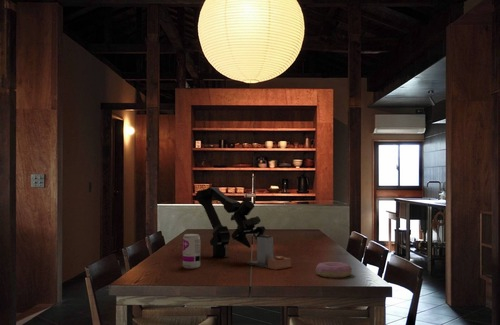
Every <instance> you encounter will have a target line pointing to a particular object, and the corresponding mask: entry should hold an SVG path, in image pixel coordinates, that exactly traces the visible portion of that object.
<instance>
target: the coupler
mask: <svg viewBox="0 0 500 325" xmlns="http://www.w3.org/2000/svg"><path fill="white" fill-rule="evenodd" d="M291 261H292V258H290V257H285V256H282V255H275V256H274V258H273V259H268V263H267V264H263V263H258V262H257V259H256V260H251V261H247V265H248V264H249V266H253V265H255V267H260V268H264V267H265V269H269V268H270V269H271V270H275V271H276V270H282V269H287V268H291V267H292V262H291Z"/></svg>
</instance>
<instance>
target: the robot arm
mask: <svg viewBox="0 0 500 325" xmlns="http://www.w3.org/2000/svg"><path fill="white" fill-rule="evenodd" d="M213 198H214V199H215V200H216V201H217V202H219V203H220V204H221V205H222V206H223V209H224V210H225V211H226V213H228V214H231V217H230V221H235V224H236V225H237V227H236V228H235V229H234V231H233V232H232V233H231V234H230V231H229V228H228V226H227V225H226V226H225V225H222V223H221V220H220V218H219V216H218V214H217V211H216V209H215V207H214V205H213ZM195 200H197V203H198V204H200V205H201V206H202V207H203V209H204V211H205V213H206V216H207V218H208V220H209V222H210V224H211V226H212V237H211V239H210V240H209V243H210V246H212V256H211V257H212V258H225V257H227V256H228V248H227V245H228V246H229V242H230V239H231V238H232V240H233V241H237V242H238V243H241V244H242V245H244V246H245V247H248V249H250V248H251V244H250V242H249V240H248V238H247V236H249V235H250V236H251V235H253V237H254V239H255V240H256V241H257V237H259V235H264V233H265V232H266V231H267V229H266V228H265V226H264V225H261V226H260V225H259V224H260V223H261V218H260V217H259V216H255V217H250V218H247V216H249V214H250V213H251V212H252V211H253V209H254V208H255V203H254V202H252V201H251V200H249V199H248V198H243V200H241V202H240V201H238V200H236V199H234V198H230V197H228V196H227V195H226V194H225V193H224V192H222V191H221V190H220V189H219V188H218V187H216V186H210V187H207V188H205V189H201V190H199V189H198V190H197V191H196V192H195ZM256 225H259V226H256Z"/></svg>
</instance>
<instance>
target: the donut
mask: <svg viewBox="0 0 500 325" xmlns="http://www.w3.org/2000/svg"><path fill="white" fill-rule="evenodd" d="M315 272H316V274H317V275H318V276H321V277H324V278H331V279H333V278H334V279H336V278H337V279H339V278H340V279H343V278H346V277H349V276H350V275H351V274H352V267H351V266H350V265H349V264H348V263H344V262H341V261H340V262H339V261H326V262H319V263H318V264H317V265H316V267H315Z"/></svg>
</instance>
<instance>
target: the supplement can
mask: <svg viewBox="0 0 500 325" xmlns="http://www.w3.org/2000/svg"><path fill="white" fill-rule="evenodd" d="M182 267H183V268H184V269H197V268H199V267H201V236H200V234H199V233H198V234H197V233H186V234H184V235H183V237H182Z"/></svg>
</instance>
